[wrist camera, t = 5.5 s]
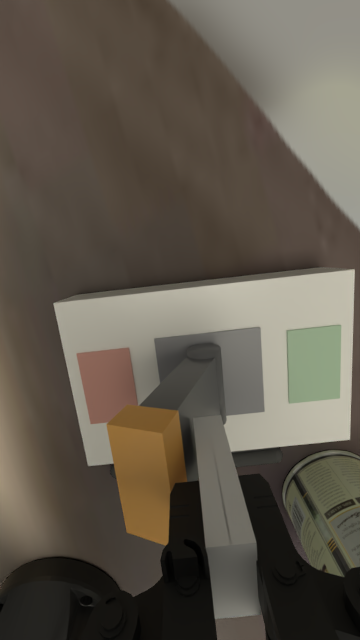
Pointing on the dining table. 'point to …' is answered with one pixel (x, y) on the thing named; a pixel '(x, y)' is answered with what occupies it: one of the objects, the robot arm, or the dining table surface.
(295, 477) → the coffee can
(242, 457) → the long thin dark rod
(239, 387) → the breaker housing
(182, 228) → the dining table surface
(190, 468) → the breaker lever
